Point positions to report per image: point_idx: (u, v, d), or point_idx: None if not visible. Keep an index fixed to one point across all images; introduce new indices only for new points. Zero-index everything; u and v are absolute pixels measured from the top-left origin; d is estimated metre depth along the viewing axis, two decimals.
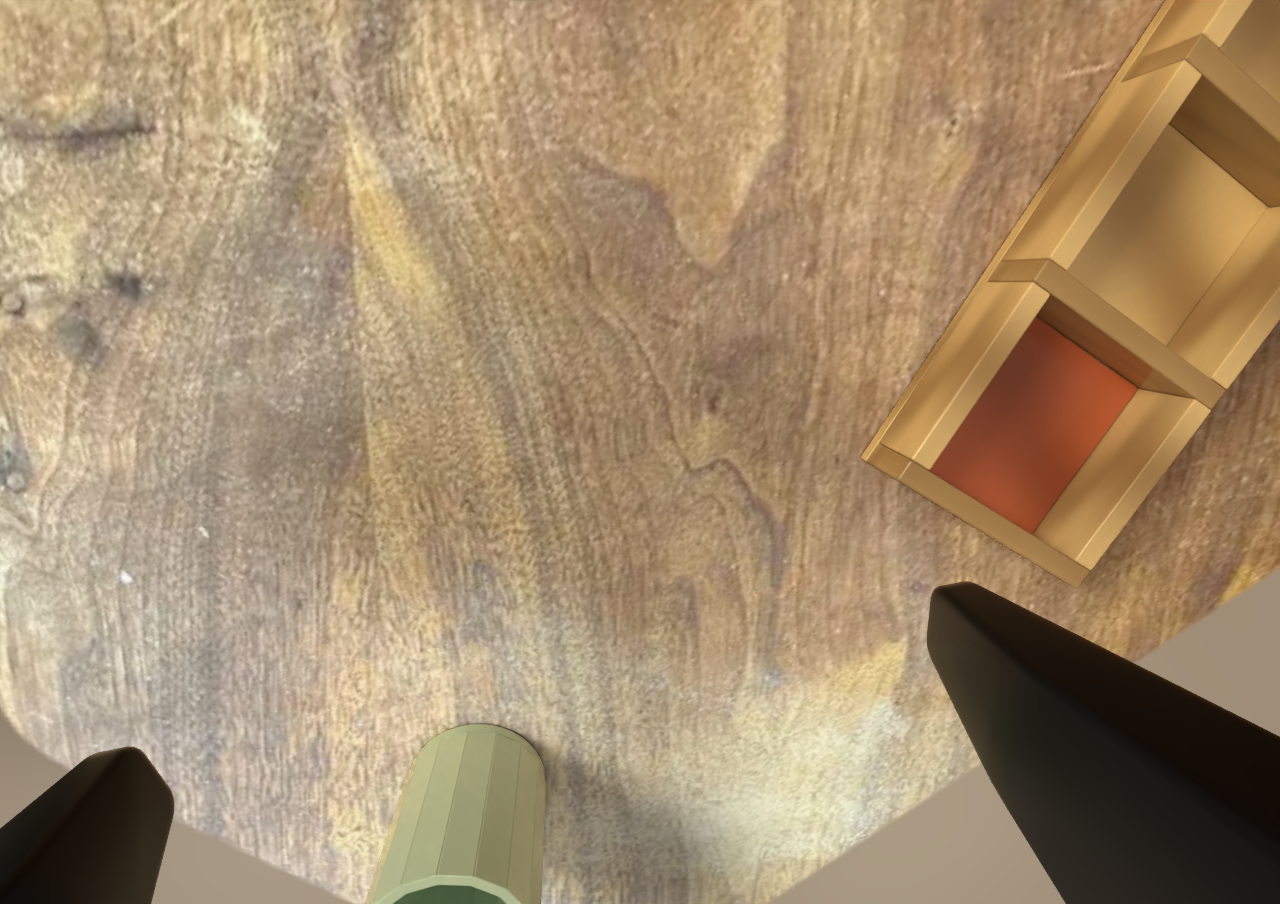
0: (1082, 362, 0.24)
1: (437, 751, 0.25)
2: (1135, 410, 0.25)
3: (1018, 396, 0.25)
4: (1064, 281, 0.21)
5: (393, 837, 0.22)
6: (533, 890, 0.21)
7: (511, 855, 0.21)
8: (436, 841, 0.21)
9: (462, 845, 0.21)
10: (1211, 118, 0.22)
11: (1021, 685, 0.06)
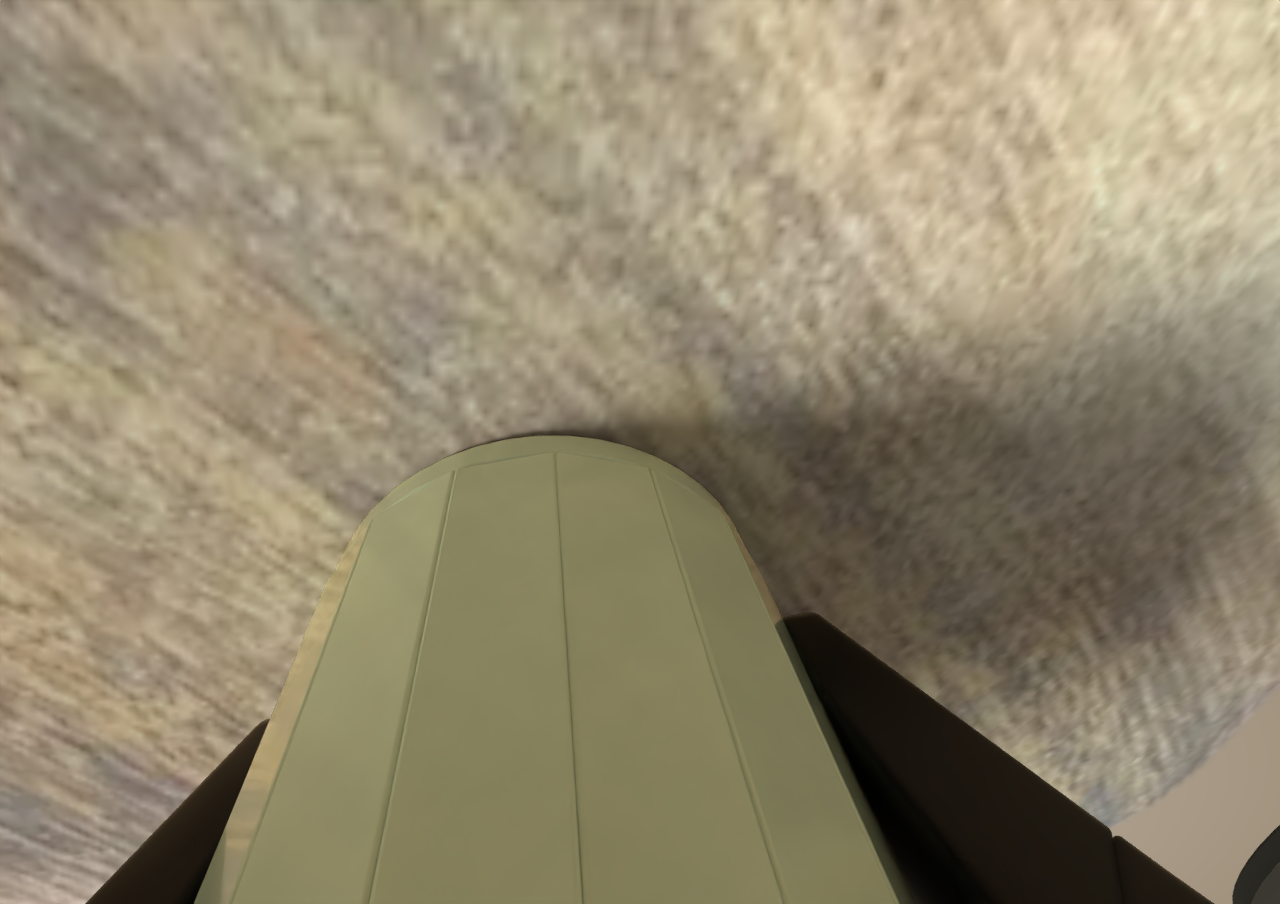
0: None
1: None
2: None
3: None
4: None
5: None
6: None
7: None
8: None
9: None
10: None
11: (833, 724, 0.06)
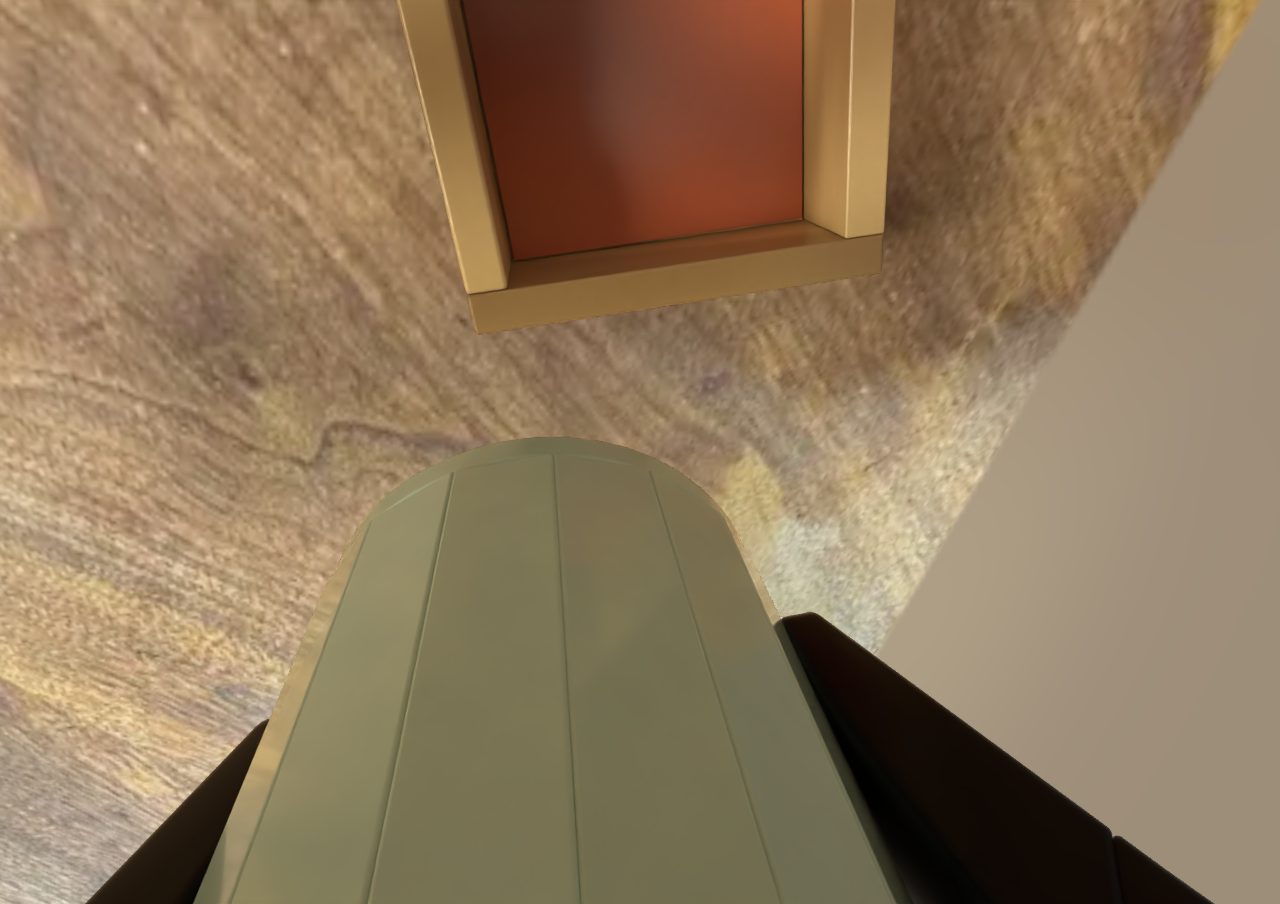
0: None
1: None
2: None
3: (608, 36, 0.13)
4: None
5: None
6: None
7: None
8: None
9: None
10: None
11: (834, 724, 0.06)
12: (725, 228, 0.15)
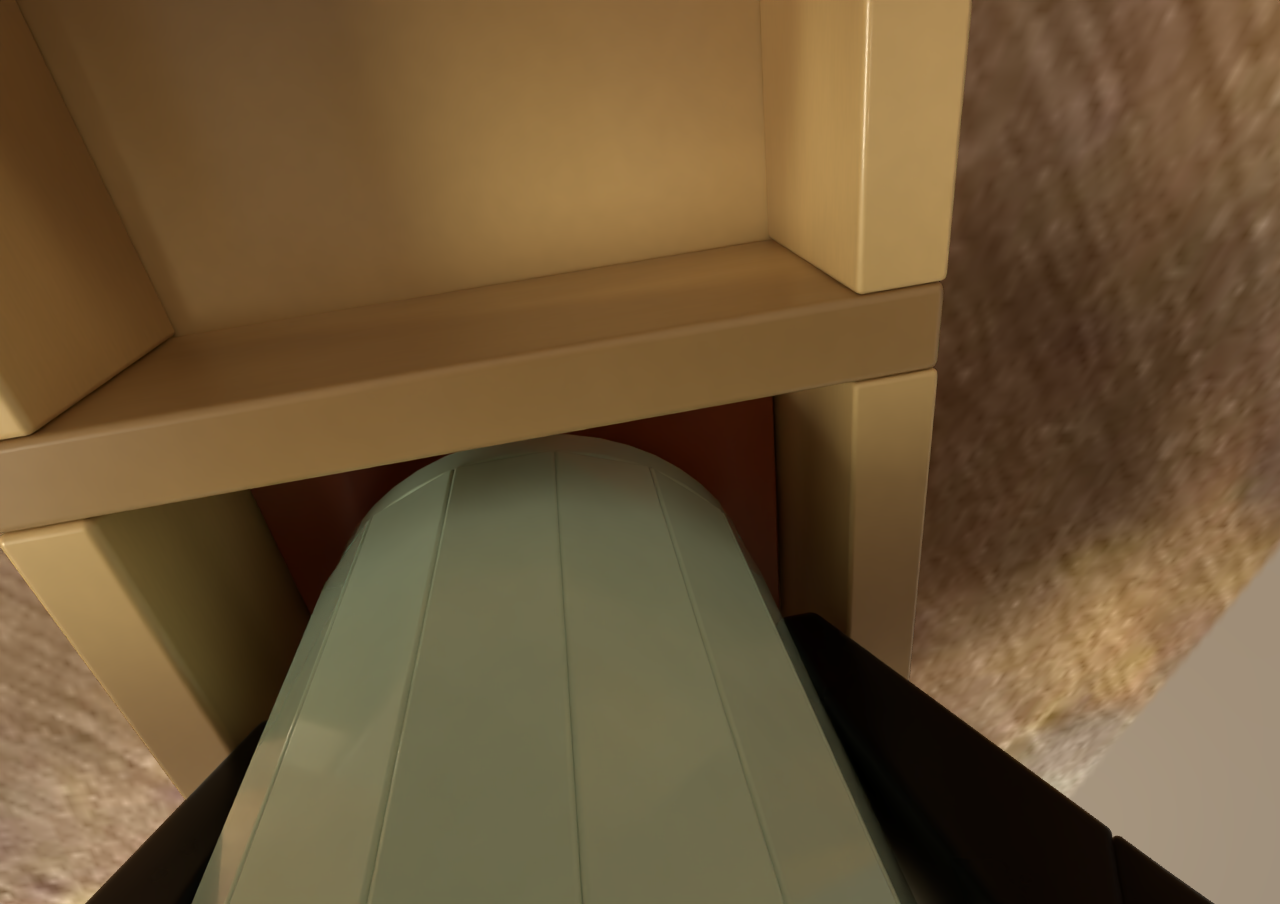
0: None
1: None
2: None
3: None
4: (66, 467, 0.05)
5: None
6: None
7: None
8: None
9: None
10: None
11: (833, 724, 0.06)
12: None
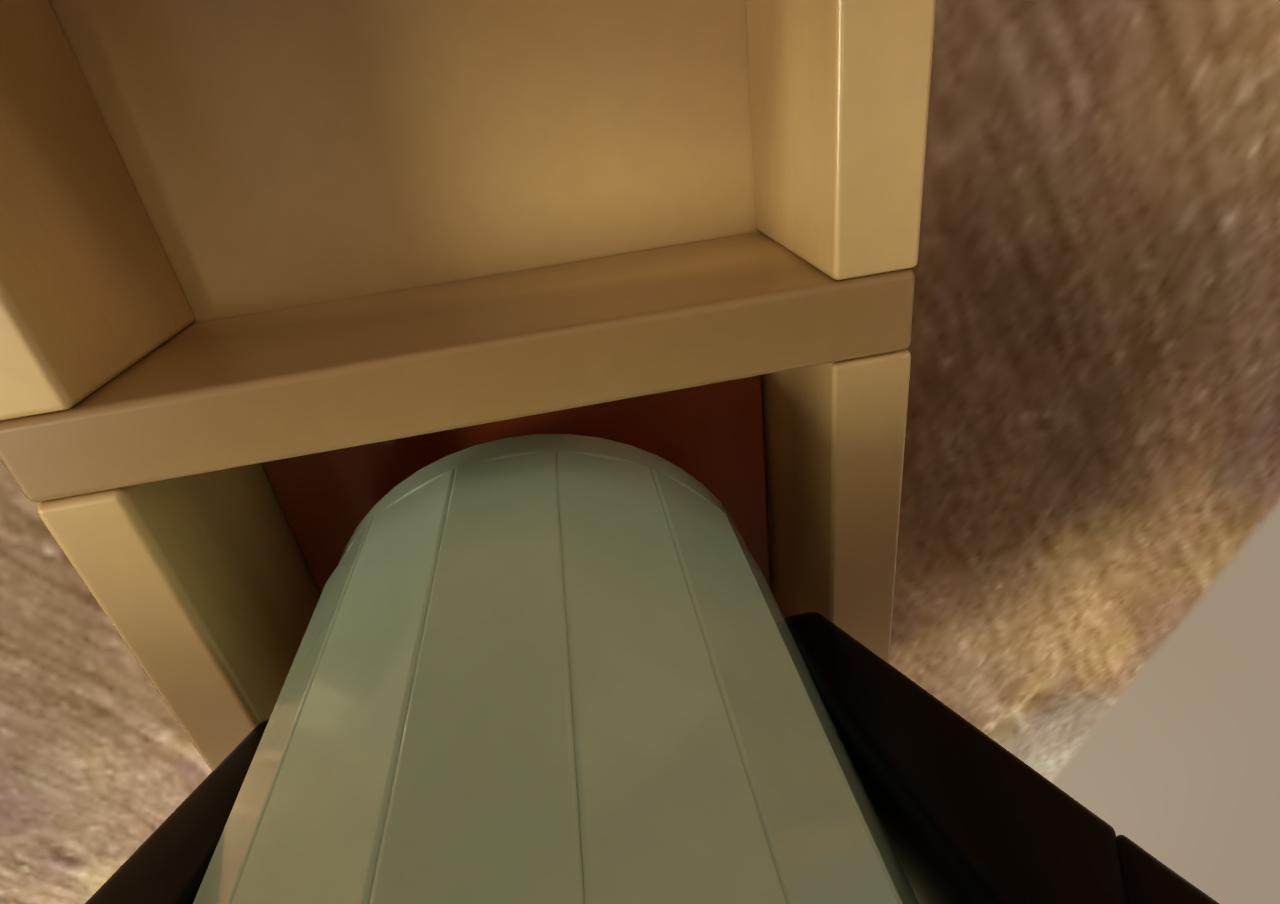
0: None
1: None
2: (775, 375, 0.09)
3: None
4: (101, 439, 0.06)
5: None
6: None
7: None
8: None
9: None
10: None
11: (836, 724, 0.06)
12: None
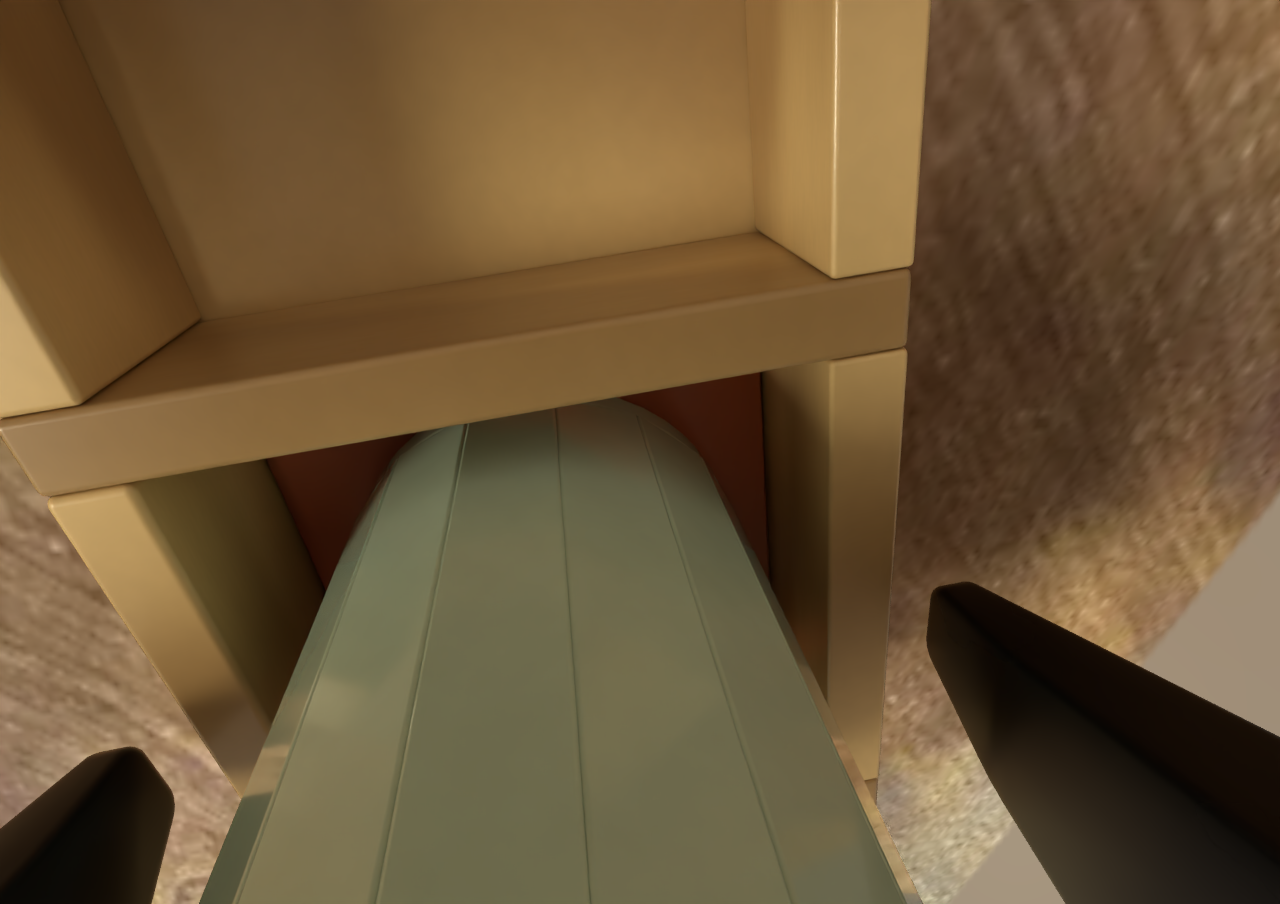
0: None
1: None
2: (774, 374, 0.09)
3: None
4: (111, 435, 0.06)
5: None
6: (808, 853, 0.04)
7: (594, 779, 0.04)
8: None
9: (308, 889, 0.04)
10: None
11: (1021, 686, 0.06)
12: None
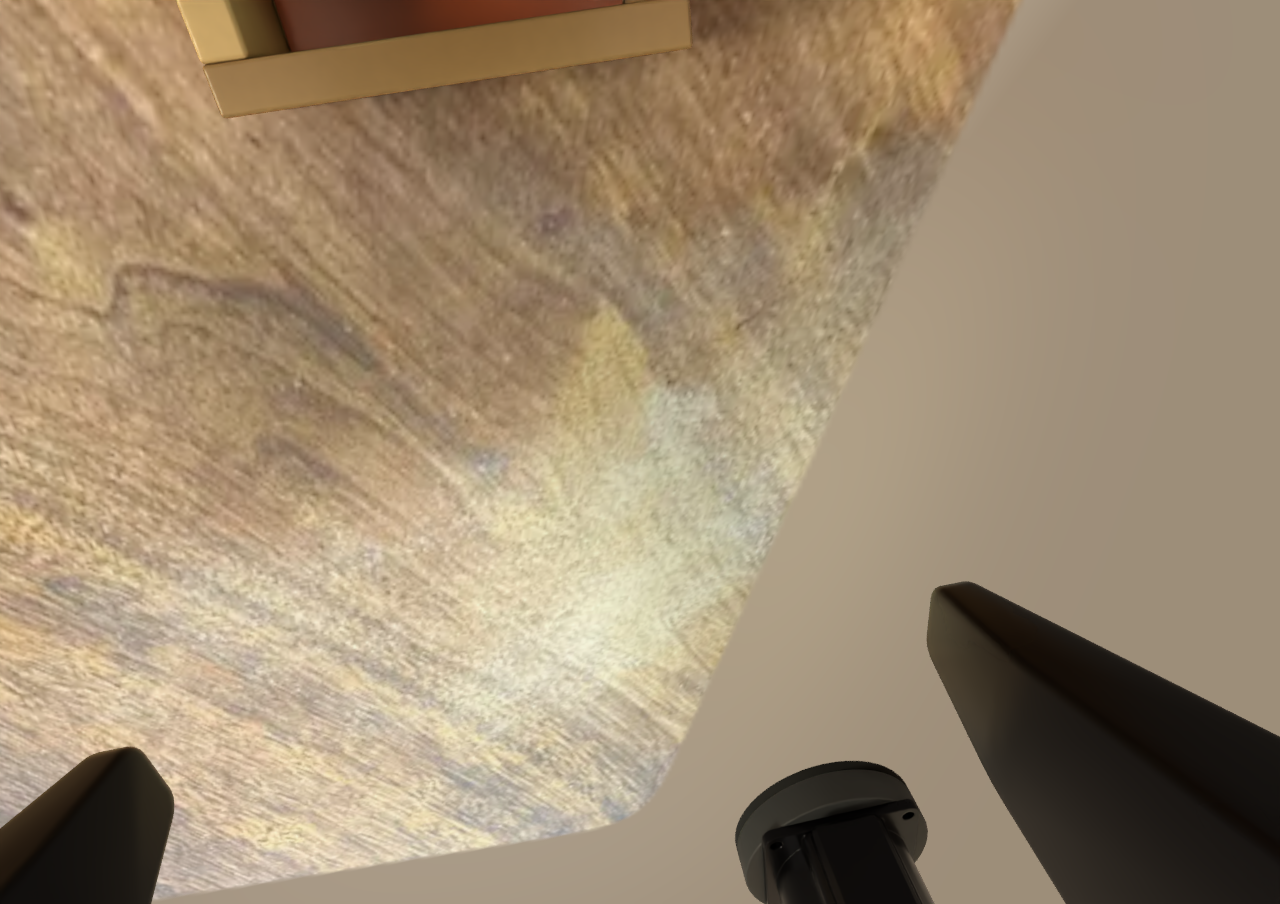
0: None
1: None
2: None
3: None
4: None
5: None
6: None
7: None
8: None
9: None
10: None
11: (1021, 685, 0.06)
12: None
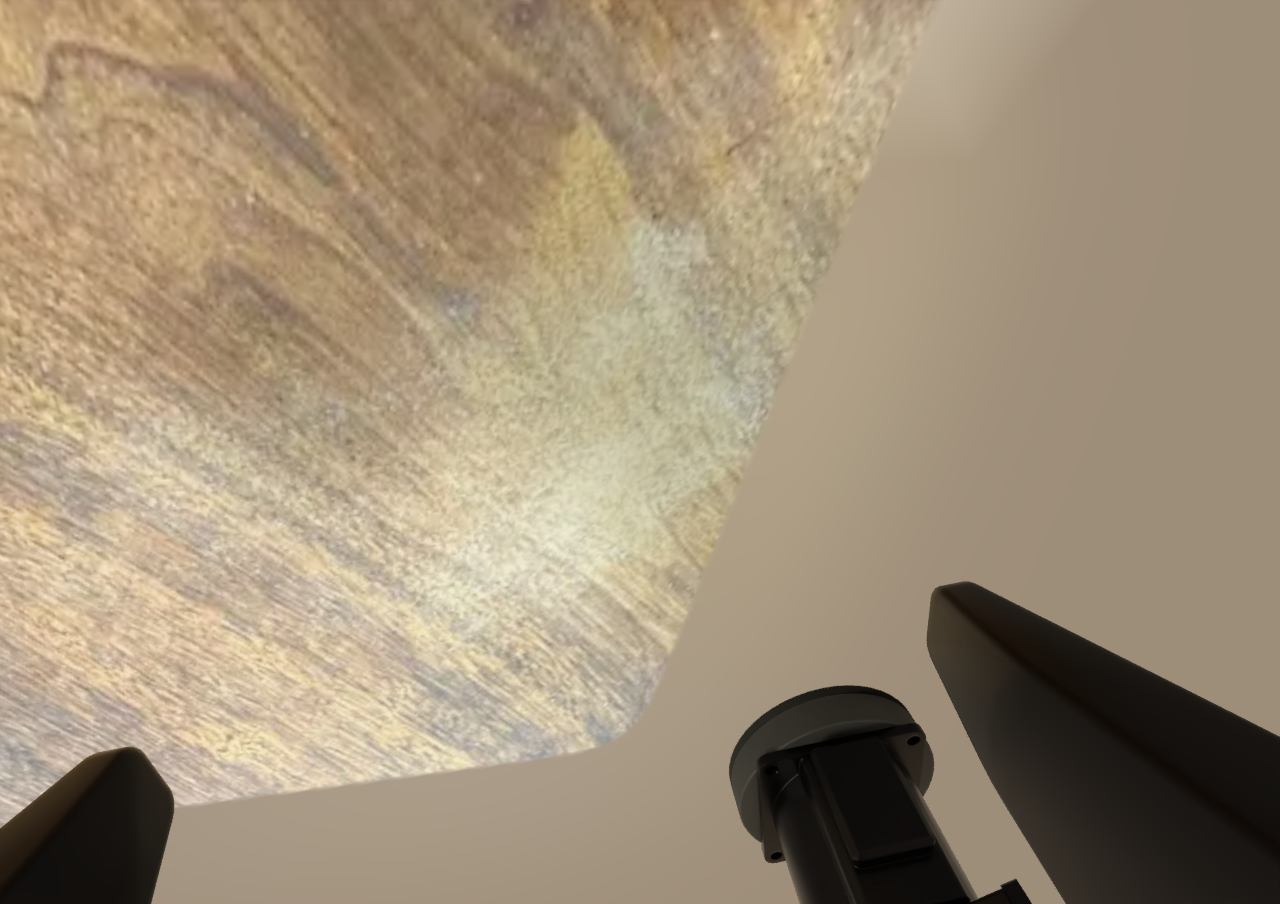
0: None
1: None
2: None
3: None
4: None
5: None
6: None
7: None
8: None
9: None
10: None
11: (1021, 685, 0.06)
12: None
